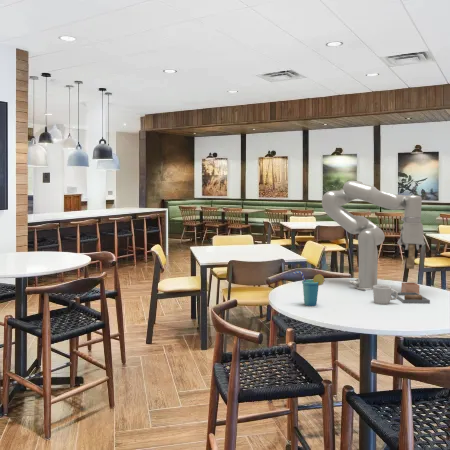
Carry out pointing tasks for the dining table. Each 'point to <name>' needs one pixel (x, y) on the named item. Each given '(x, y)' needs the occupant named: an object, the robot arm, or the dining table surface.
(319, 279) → the cup
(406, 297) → the walnut dowel
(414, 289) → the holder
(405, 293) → the tray
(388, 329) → the dining table surface
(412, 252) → the oak dowel
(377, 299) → the cup
